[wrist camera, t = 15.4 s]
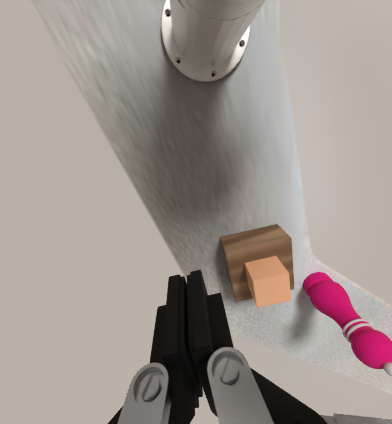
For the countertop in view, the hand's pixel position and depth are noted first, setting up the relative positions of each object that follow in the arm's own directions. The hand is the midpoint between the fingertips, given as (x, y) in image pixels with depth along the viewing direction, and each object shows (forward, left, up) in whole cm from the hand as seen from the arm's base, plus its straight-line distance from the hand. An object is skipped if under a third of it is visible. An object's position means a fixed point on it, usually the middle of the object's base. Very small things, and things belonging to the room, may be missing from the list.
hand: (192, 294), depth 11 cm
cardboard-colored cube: (+20, +10, -23) cm, 32 cm away
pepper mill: (+32, +24, -29) cm, 50 cm away
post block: (+20, +10, -29) cm, 37 cm away
